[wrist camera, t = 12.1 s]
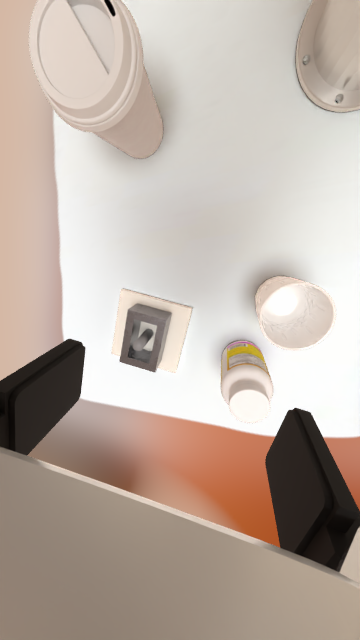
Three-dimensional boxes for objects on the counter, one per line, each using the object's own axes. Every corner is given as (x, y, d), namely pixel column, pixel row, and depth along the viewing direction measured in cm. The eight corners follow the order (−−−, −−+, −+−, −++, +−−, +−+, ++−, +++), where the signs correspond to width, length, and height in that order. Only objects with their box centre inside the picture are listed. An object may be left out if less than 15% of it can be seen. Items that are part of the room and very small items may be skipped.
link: (137, 303, 39) (127, 309, 35) (172, 312, 38) (166, 320, 35) (128, 351, 42) (119, 361, 38) (161, 360, 42) (154, 372, 38)
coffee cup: (180, 162, 33) (146, 101, 19) (116, 178, 35) (42, 135, 21) (167, 76, 30) (116, -70, 16) (99, 99, 32) (1, -12, 18)
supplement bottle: (247, 381, 41) (256, 440, 29) (214, 362, 41) (209, 412, 29) (271, 352, 39) (291, 402, 27) (235, 331, 39) (240, 371, 27)
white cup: (275, 333, 38) (291, 363, 28) (239, 298, 37) (244, 317, 28) (318, 297, 35) (352, 318, 25) (280, 260, 34) (301, 266, 25)
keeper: (123, 288, 40) (104, 296, 34) (192, 307, 39) (186, 320, 33) (113, 351, 44) (95, 368, 38) (176, 370, 43) (168, 391, 37)
